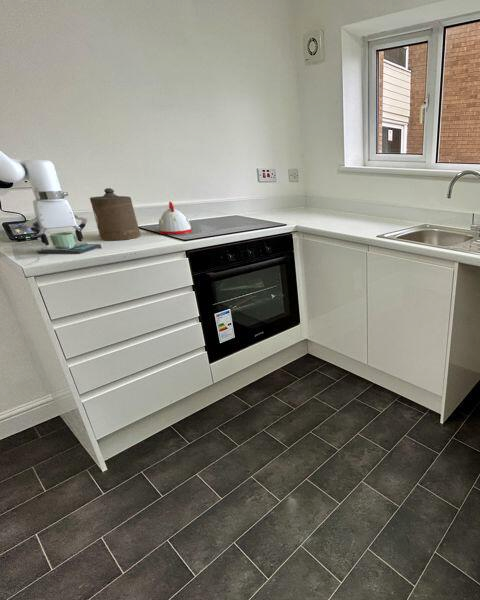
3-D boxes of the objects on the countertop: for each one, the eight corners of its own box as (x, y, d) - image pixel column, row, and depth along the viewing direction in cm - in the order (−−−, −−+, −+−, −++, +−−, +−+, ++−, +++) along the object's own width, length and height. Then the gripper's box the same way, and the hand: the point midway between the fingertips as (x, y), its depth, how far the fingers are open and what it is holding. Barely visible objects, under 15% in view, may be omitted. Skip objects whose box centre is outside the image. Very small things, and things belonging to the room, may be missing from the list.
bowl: (49, 247, 130) (45, 235, 128) (62, 244, 136) (58, 232, 134) (68, 247, 131) (64, 235, 129) (81, 244, 137) (77, 232, 135)
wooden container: (115, 234, 170) (102, 186, 162) (147, 234, 171) (136, 187, 163) (92, 240, 156) (77, 189, 148) (127, 241, 157) (114, 190, 149)
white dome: (162, 235, 170) (155, 204, 164) (158, 231, 179) (151, 201, 174) (194, 233, 178) (188, 202, 172) (189, 229, 188) (183, 200, 182)
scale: (38, 257, 128) (36, 249, 127) (63, 249, 139) (61, 242, 138) (81, 257, 130) (78, 249, 129) (102, 250, 141) (100, 242, 140)
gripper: (77, 194, 135) (90, 238, 142) (13, 196, 122) (30, 244, 129) (82, 195, 131) (95, 241, 137) (17, 198, 118) (34, 248, 125)
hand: (64, 242), depth 133 cm, fingers open, 9 cm apart
